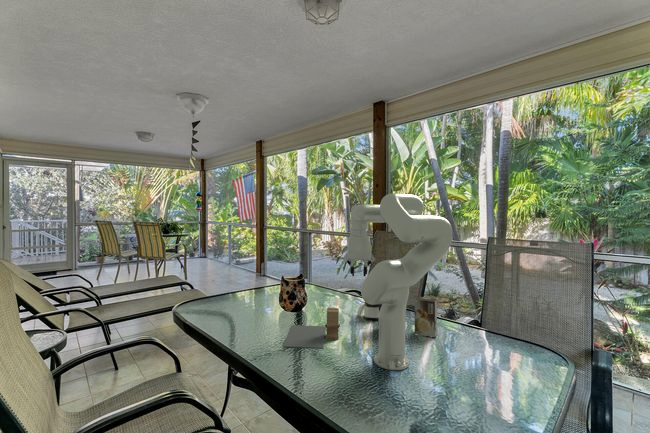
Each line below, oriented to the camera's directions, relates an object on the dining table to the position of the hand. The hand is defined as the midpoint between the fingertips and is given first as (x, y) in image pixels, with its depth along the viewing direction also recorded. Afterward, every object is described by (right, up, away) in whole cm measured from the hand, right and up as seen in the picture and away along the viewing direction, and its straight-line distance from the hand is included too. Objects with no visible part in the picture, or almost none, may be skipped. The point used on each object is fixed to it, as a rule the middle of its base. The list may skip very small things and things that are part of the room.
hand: (358, 275), depth 139 cm
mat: (-23, -27, +1) cm, 35 cm away
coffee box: (+31, -28, +6) cm, 42 cm away
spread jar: (+8, -27, +28) cm, 40 cm away
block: (-11, -27, +1) cm, 29 cm away
